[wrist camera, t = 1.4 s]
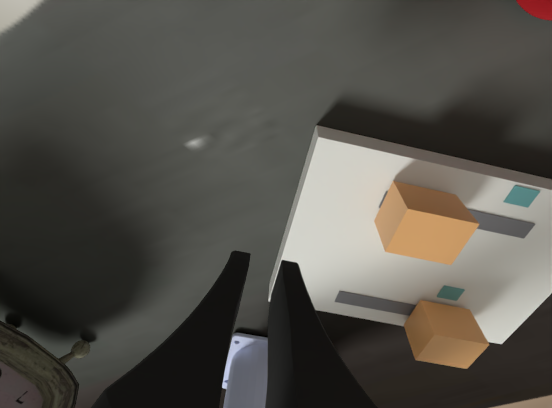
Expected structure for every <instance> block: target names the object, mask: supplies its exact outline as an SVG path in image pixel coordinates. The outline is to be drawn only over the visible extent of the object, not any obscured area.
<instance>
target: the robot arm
mask: <svg viewBox="0 0 552 408" xmlns="http://www.w3.org/2000/svg"><path fill="white" fill-rule="evenodd" d="M249 261H250V253H245V252H240V251H233V252H231V255H230V258H229V260H228V262H227V264H226V266H225V268H224V269H223V271H222V273H221V275H220V276H219V278H218V279H217V281H216V282H215V284H214V285H213V287H212V288H211V289H210V291H209V292H208V293H207V295H206V296H205V297H204V298H203V300H202V301H201V302H200V304H199V305H198V306H197V307H196V308H195V310H194V311H193V312H192V313H191V314H190V315H189V317H188V318H187V319H186V320H185V321H184V322H183V323H182V324H181V325H180V326H179V327H178V328H177V329H176V330H175V331H174V332H173V333H172V334H171V335H170V336H169V337H168V338H167V339H166V340H165V341H164V342H163V343H162V344H161V345H160V346H159V347H157V348H156V349H155V350H154V351H153V352H152V353H150V354H149V355H148V356H147V357H146V358H145V359H143V360H142V361H141V362H140V363H139V364H138V365H136V366H135V367H134V368H133V369H131V370H130V371H129V372H127V373H126V374H125V375H123V376H122V377H121V378H119V379H118V380H117V381H115V382H114V383H113V384H111V385H110V386H109V387H107V388H106V389H105V390H104V391H103V393H102V394H101V395H100V397H99V398H98V399H97V401H96V402H95V403H94V405H93V406H92V407H91V408H219V403H220V397H221V390H222V388H225V389H226V395H225V401H224V407H223V408H377V407H376V405H375V404H374V403H373V402H372V400H371V399H370V398H369V397H368V395H367V394H366V393H365V391H364V390H363V389H362V387H361V386H360V384H359V383H358V382H357V380H356V379H355V378H354V376H353V375H352V373H351V372H350V371H349V369H348V368H347V366H346V365H345V363H344V362H343V360H342V358H341V357H340V355H339V354H338V352H337V350H336V349H335V347H334V345H333V344H332V342H331V340H330V338H329V336H328V335H327V333H326V331H325V329H324V327H323V325H322V323H321V321H320V319H319V317H318V315H317V312H316V310H315V308H314V305H313V303H312V301H311V298H310V296H309V294H308V291H307V288H306V286H305V283H304V280H303V277H302V274H301V271H300V267H299V265H298V263H296V262H291V261H286V260H282V261H281V264H280V267H279V271H278V274H277V277H276V280H275V284H274V287H273V290H272V293H271V299H270V307H269V316H268V338H266V337H261V336H255V335H249V334H243V333H234V334H233V337H232V341H231V345H230V349H229V354H228V348H229V343H230V339H231V335H232V332H233V328H234V325H235V321H236V318H237V314H238V310H239V305H240V301H241V297H242V293H243V289H244V284H245V280H246V276H247V272H248V267H249ZM227 354H228V358H227ZM226 360H227V362H226Z"/></svg>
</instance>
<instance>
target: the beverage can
mask: <svg viewBox="0 0 552 408" xmlns="http://www.w3.org/2000/svg"><path fill="white" fill-rule="evenodd" d="M516 1H517V2H518V4H519V5H520V6H521V7H522V8H523V9H524V10H525V11H526V12H528V13H529V14H531V15H533V16H534V17H537V18H540V19H545V20H552V0H516Z"/></svg>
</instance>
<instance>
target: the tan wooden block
mask: <svg viewBox="0 0 552 408" xmlns="http://www.w3.org/2000/svg"><path fill="white" fill-rule="evenodd" d="M404 327H405V331H406V334H407V337H408V340H409V343H410V346H411V349H412V352H413V355H414V358H415V360H419V361H425V362H430V363H436V364H442V365H447V366H453V367H459V368H465V369H467V368H468V367H469V366H470V365H471V364H472V363H473V362H474V361H475V360H476V358H477V357H478V356H479V355H480V354H481V353H482V352H483V351H484V350H485V349H486V348H487V347H488V346H489V343H488V341H487V339H486V338H485V336H484V334H483V332H482V330H481V329H480V327H479V325H478V323H477V321H476V320H475V318H474V316H473V314H472V312H471V311H470V309H465V308H460V307H455V306H449V305H444V304H439V303H434V302H429V301H423V300H420V301H419V303H418V304H417V306H416V307H415V309H414V310H413V312H412V313H411V315H410V316H409V318H408V319H407V320H406V322H405V323H404Z"/></svg>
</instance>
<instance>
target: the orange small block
mask: <svg viewBox="0 0 552 408" xmlns="http://www.w3.org/2000/svg"><path fill="white" fill-rule="evenodd" d="M374 222H375V225H376V228H377V231H378V233H379V236H380V239H381V242H382V245H383V247H384V250H385V252H388V253H393V254H398V255H403V256H408V257H413V258H418V259H423V260H428V261H433V262H438V263H443V264H448V265H452V263H453V262H454V261H455V259H456V258H457V256H458V255H459V253H460V252H461V250H462V249H463V248H464V246H465V245H466V243H467V242H468V240H469V239H470V237H471V236H472V234H473V233H474V232H475V230H476V229H477V227H478V226H479V223H478V221H477V220H476V219H475V218H474V216H473V215H472V214H471V213H470V212H469V210H468V209H467V208H466V207H465V205H464V204H463V203H462V202H461V200H460V199H459V198H458V197H457V195H455V194H450V193H446V192H441V191H437V190H432V189H428V188H423V187H419V186H414V185H409V184H405V183H400V182H396V181H393V182H392V184H391V186H390V188H389V190H388V192H387V195H386V197H385V199H384V201H383V203H382V205H381V207H380V209H379V212H378V214H377V216H376V218H375V220H374Z"/></svg>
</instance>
